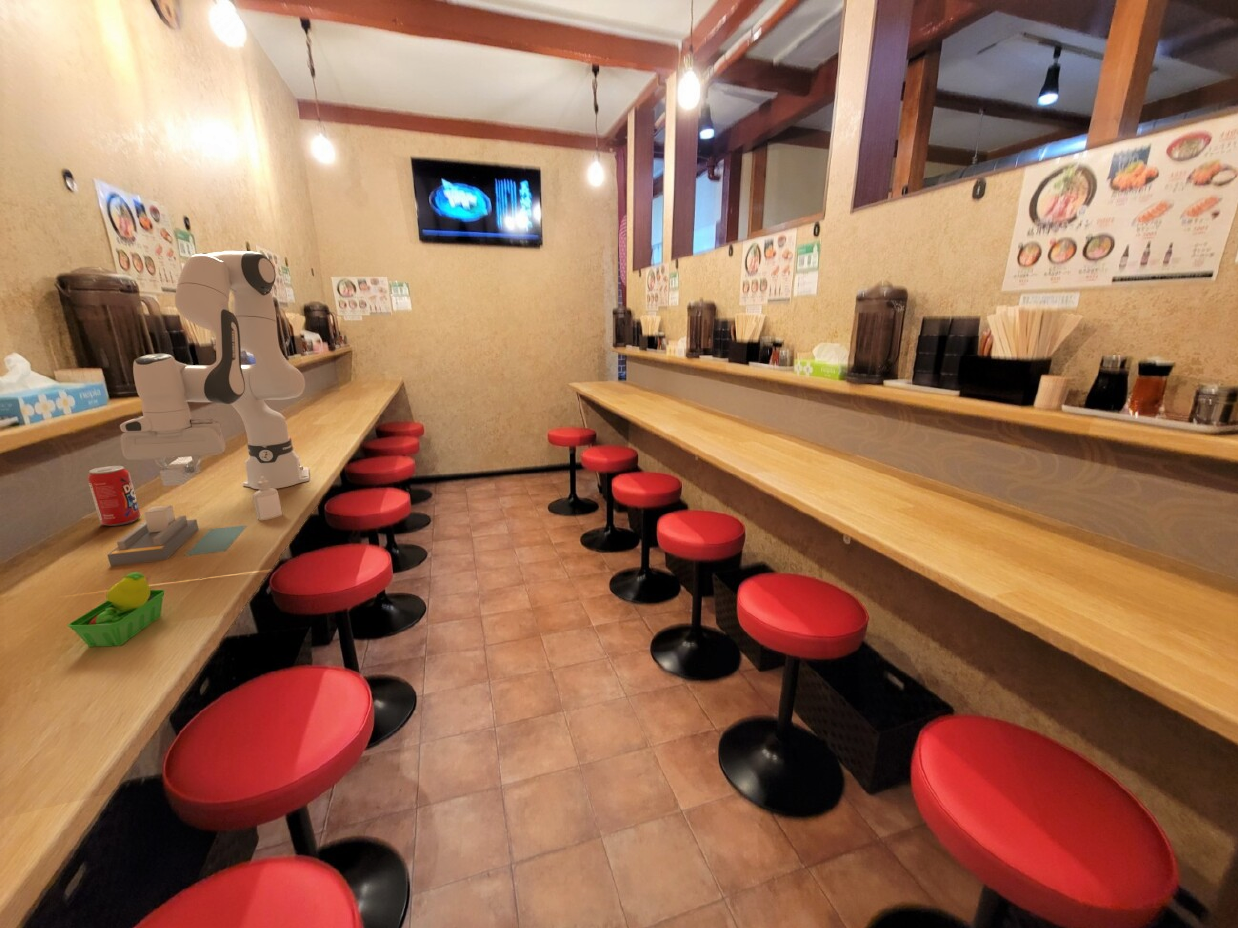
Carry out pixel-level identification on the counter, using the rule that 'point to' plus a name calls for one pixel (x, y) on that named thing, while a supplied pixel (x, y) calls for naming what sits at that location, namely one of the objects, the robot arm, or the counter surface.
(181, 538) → the switch panel
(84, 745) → the counter surface
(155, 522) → the switch tab
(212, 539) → the mat
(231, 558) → the counter surface
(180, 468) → the bar
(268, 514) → the eye dropper bottle
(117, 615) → the fruit basket
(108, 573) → the counter surface
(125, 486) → the soda can
